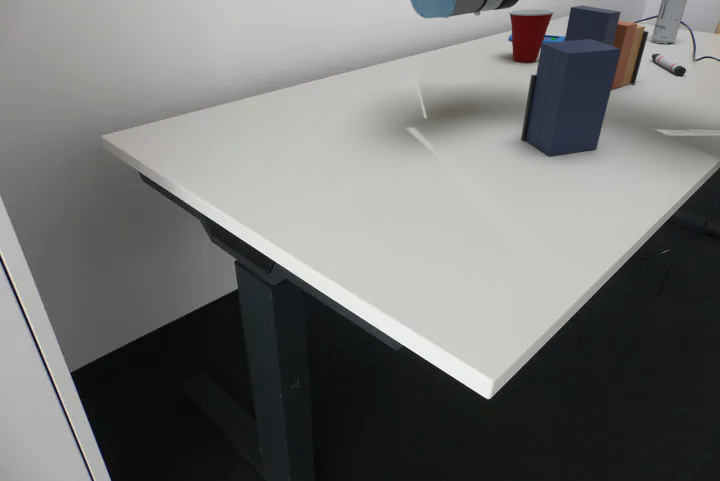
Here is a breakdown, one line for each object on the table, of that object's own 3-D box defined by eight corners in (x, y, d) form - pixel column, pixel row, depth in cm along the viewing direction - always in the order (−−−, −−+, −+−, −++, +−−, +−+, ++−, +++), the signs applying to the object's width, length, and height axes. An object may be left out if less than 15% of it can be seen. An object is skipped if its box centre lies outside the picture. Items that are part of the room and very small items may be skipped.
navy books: (599, 149, 88) (624, 48, 80) (546, 156, 86) (566, 53, 77) (570, 132, 95) (590, 37, 86) (520, 139, 92) (536, 42, 84)
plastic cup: (528, 52, 143) (535, 4, 137) (555, 62, 135) (564, 11, 128) (493, 57, 140) (499, 7, 133) (519, 67, 131) (527, 14, 125)
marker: (684, 76, 124) (687, 67, 123) (675, 76, 124) (678, 67, 123) (654, 59, 137) (657, 51, 135) (647, 59, 137) (649, 51, 135)
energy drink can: (647, 39, 155) (662, -18, 147) (668, 39, 155) (684, -18, 147) (656, 44, 150) (673, -15, 142) (678, 44, 150) (696, -15, 142)
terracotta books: (613, 90, 115) (629, 26, 108) (574, 79, 122) (587, 18, 115) (634, 84, 119) (651, 21, 112) (595, 74, 126) (608, 14, 119)
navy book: (591, 95, 112) (609, 13, 103) (556, 85, 118) (570, 7, 110) (601, 92, 114) (620, 11, 105) (566, 82, 120) (581, 5, 111)
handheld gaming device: (513, 31, 160) (566, 35, 155) (513, 35, 161) (565, 39, 155) (507, 36, 154) (562, 41, 149) (507, 40, 155) (561, 45, 149)
